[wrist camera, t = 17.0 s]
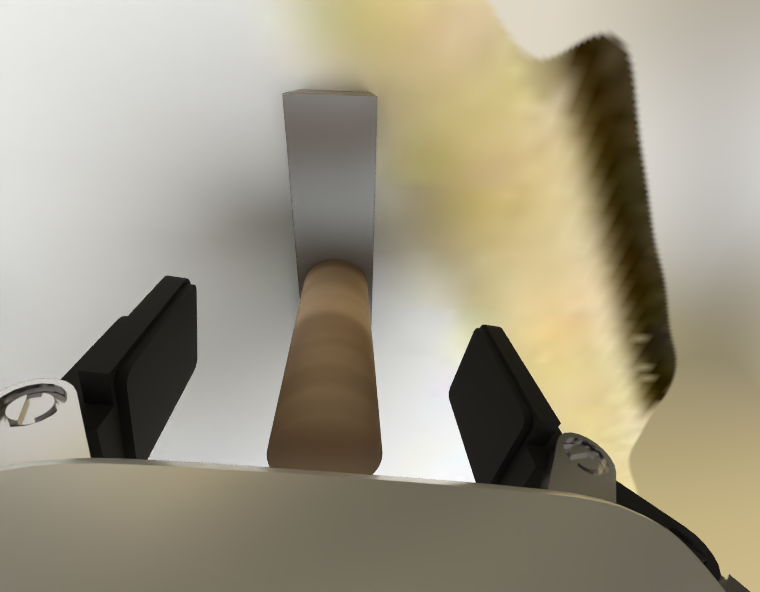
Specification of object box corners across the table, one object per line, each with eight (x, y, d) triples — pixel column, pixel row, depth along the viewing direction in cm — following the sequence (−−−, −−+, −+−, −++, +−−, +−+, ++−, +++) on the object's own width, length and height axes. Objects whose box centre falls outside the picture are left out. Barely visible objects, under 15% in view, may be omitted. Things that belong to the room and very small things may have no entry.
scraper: (365, 347, 23) (380, 595, 12) (316, 348, 23) (286, 601, 12) (369, 92, 16) (415, 120, 5) (300, 89, 16) (188, 114, 5)
